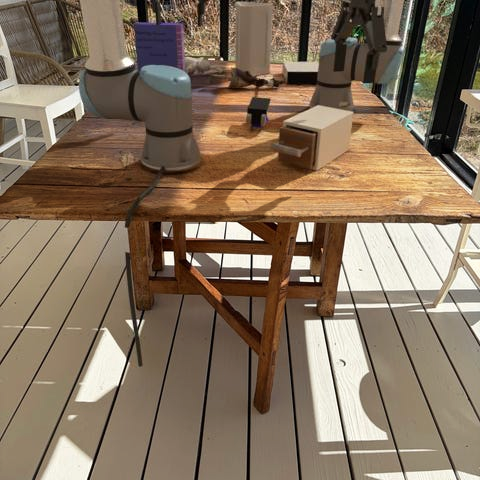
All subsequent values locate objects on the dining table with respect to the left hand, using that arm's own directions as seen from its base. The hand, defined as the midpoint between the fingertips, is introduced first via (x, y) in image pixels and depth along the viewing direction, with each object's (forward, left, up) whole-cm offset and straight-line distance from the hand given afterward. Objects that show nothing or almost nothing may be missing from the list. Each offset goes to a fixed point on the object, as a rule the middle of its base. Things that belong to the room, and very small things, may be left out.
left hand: (179, 25), depth 150 cm
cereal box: (+26, +16, -27) cm, 41 cm away
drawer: (-38, -45, -26) cm, 64 cm away
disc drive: (+60, -37, -27) cm, 75 cm away
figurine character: (-11, -28, -27) cm, 40 cm away
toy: (+56, +14, -27) cm, 64 cm away
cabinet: (-32, -47, -27) cm, 63 cm away
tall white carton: (+66, -13, -27) cm, 73 cm away
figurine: (+37, -16, -27) cm, 48 cm away
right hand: (-32, -54, -6) cm, 63 cm away
